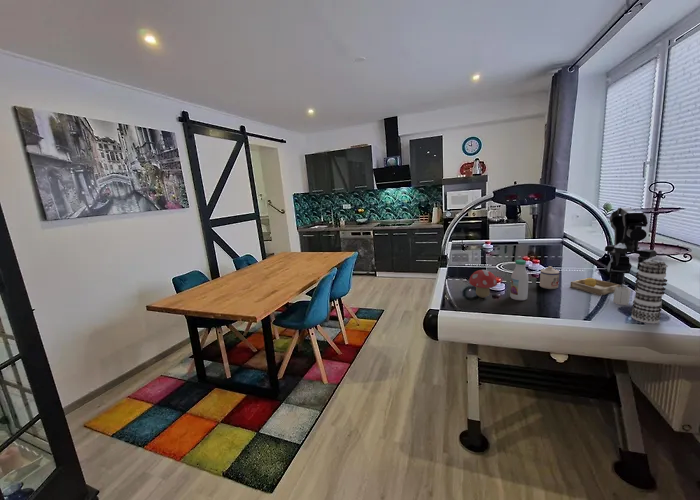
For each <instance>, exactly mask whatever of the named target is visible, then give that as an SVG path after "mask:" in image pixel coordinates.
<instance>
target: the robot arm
mask: <svg viewBox="0 0 700 500" xmlns="http://www.w3.org/2000/svg"><path fill="white" fill-rule="evenodd" d="M609 223H610V226H611V227H610V228H612V229H613V231H614V242H613V243H614V244H610V245H606V246H605V247H604V252H607V254H610V255H611V259H610V261H609V262H608V264H607V267H606V268H607V270H606V271H607V272H608V273H610V276H609V279H608V280H606V282H610V283H614V284H619V285H626V283H625V282H626V281H625V274H627V275H628V274H630V272H631V269H632V263H631V261H630V257H629V256H628V255H627V254H628V253H629V254H635V255H636V254H637V255H638V257H637V258H638V263H637V266H636V267H637V268H636V269H637V270H638V271H639V268H640V264H639V263H641V262H643V261H644V260H647V259H652V258H654V257H657V253H658V252H657V251H656V250H653V249H642V250H640V247H639V242H641V241H642V240H644V239H646V238H647V236H648V233H647V231H646V230H645V229H642V228H643V227H645V228H646V227H647V225H648V217H647V214H645V212H644V211H635V210H634V209H632V207H629V206H620V207H618V208H617V210H615V211H613V212H611V214H610V217H609Z"/></svg>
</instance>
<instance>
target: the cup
mask: <svg viewBox="0 0 700 500" xmlns="http://www.w3.org/2000/svg"><path fill="white" fill-rule="evenodd" d="M630 296H631V289H630V288H629V287H628V288H627V287H624V286H623V287H621V286H620V287H616V288H615V291H614V292H613V299H612V302H613V303H614V304H616V305H619V306H628V305H629V304H630Z"/></svg>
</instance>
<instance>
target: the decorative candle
mask: <svg viewBox="0 0 700 500" xmlns="http://www.w3.org/2000/svg"><path fill="white" fill-rule="evenodd" d="M639 264H640V268H639V270H638V271H636V272H635V278H636V279H635V281H634V282H635V284H634V287H635V288H634V291H635V296H634V300H633V301H632V308H631V315H630V317H631V318H632V319H633V320H635V321H637V322H641V323H645V322H646V323H645V324H659V323H660V321H661V316H662V313H661V312H662V308H663V304H662V300H663V299H662V297H663V296H664V295H665V291H666V286H667V282H668V279H666V277H667V268H668V267H669V265H668V264H666V262H665V261H663V260H660V259H652V258H649V259H647V260H644V261H643V262H641V263H639Z"/></svg>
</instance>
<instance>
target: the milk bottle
mask: <svg viewBox="0 0 700 500" xmlns="http://www.w3.org/2000/svg"><path fill="white" fill-rule="evenodd" d="M514 262H515V263H514V264H515V268H514V269H513V270H512V273H511V276H510V291H509V292H510V293H509V295H510V296H509V297H510V299H513V300H515V301H526V300H528V293H529V292H528V291H529V274H528V271H527V269H526V264H527V261H526V260H524V259H516V260H515V261H514Z"/></svg>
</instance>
